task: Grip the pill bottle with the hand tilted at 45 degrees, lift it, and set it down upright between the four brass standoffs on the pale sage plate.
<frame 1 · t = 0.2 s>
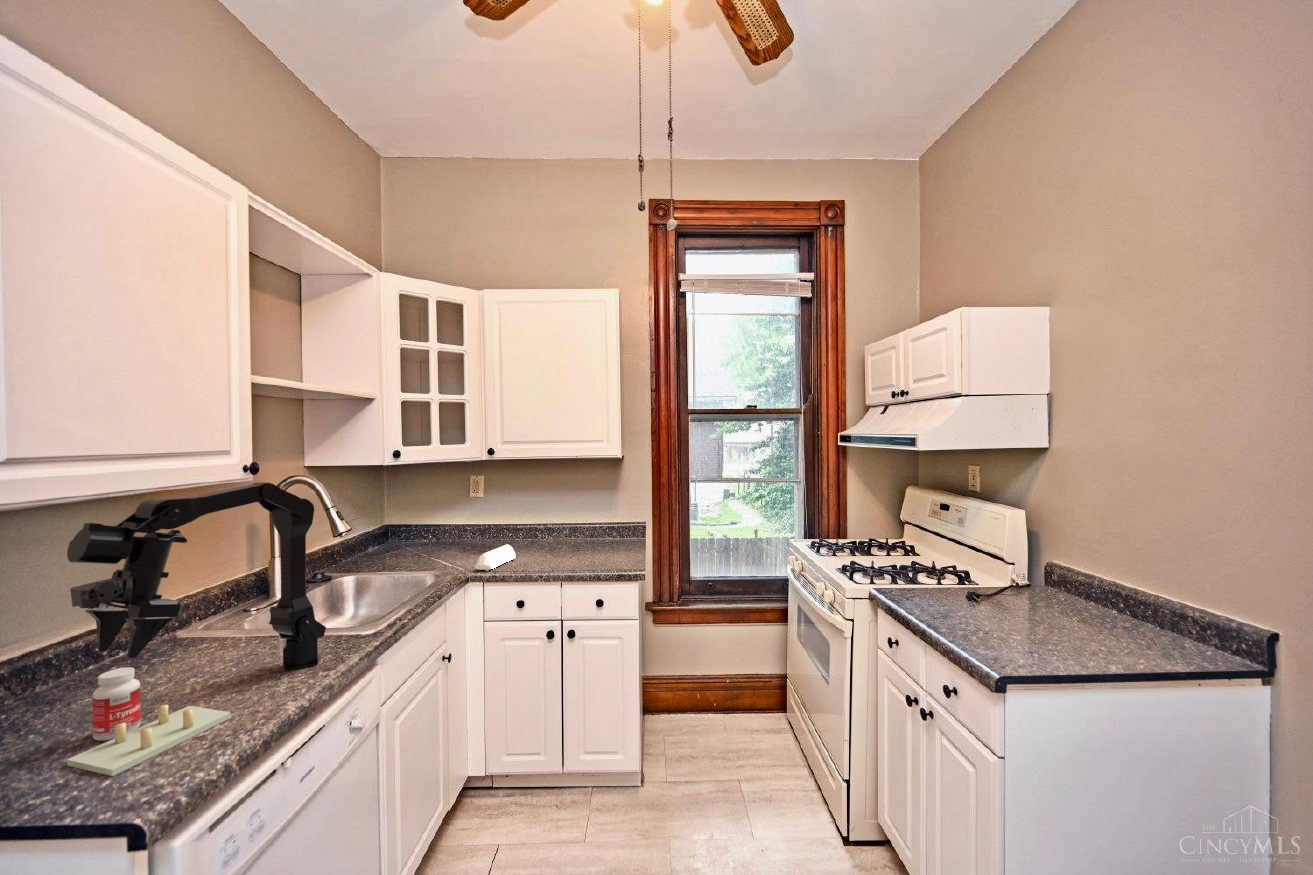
hand: (116, 654, 94), 15 cm above the worktop, tool tilted 15°, fingers open, 9 cm apart
standoff plate: (155, 739, 94), on the worktop
white rounded log: (496, 566, 221), on the worktop
pill bottle: (117, 733, 97), on the worktop
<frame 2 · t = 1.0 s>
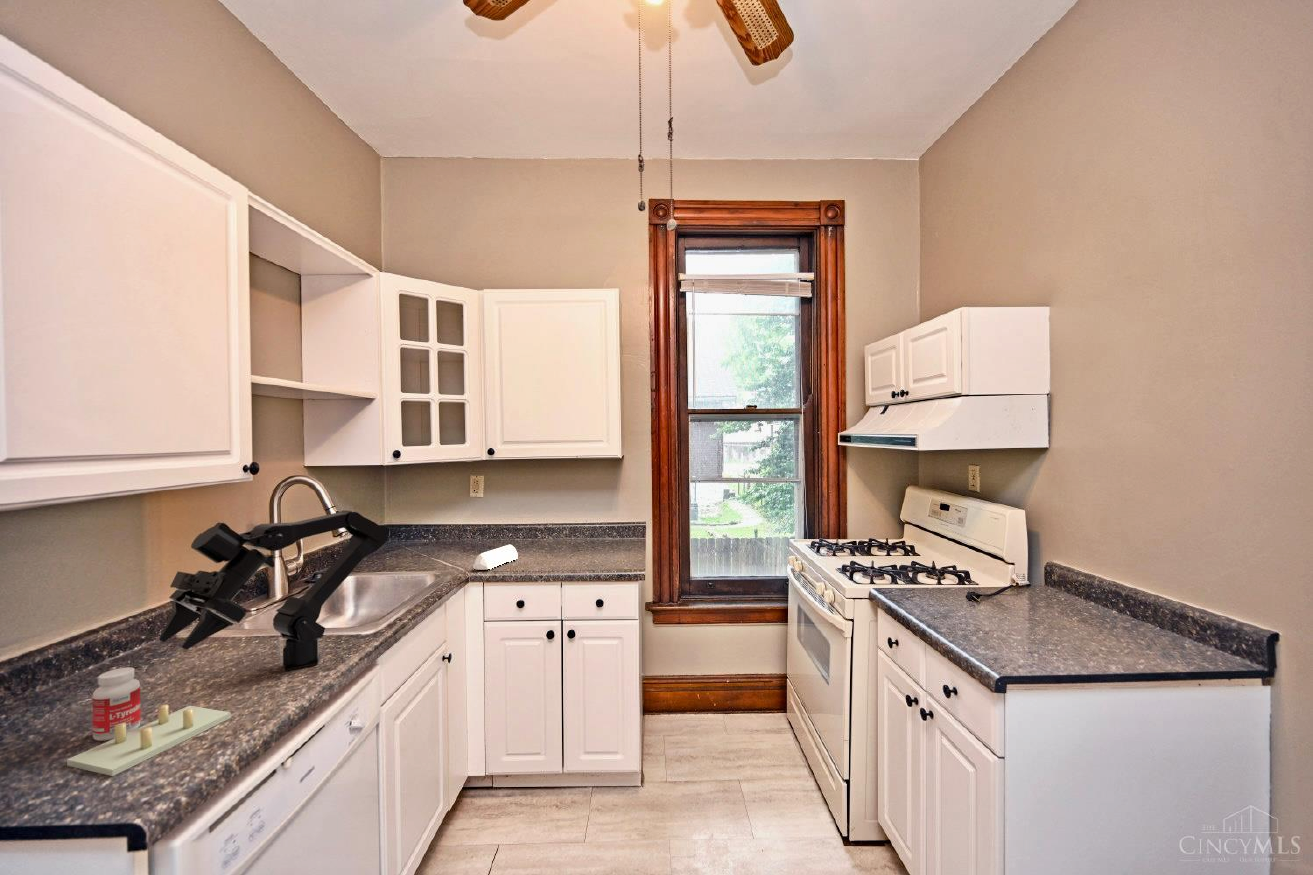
hand: (172, 644, 104), 13 cm above the worktop, tool tilted 45°, fingers open, 9 cm apart
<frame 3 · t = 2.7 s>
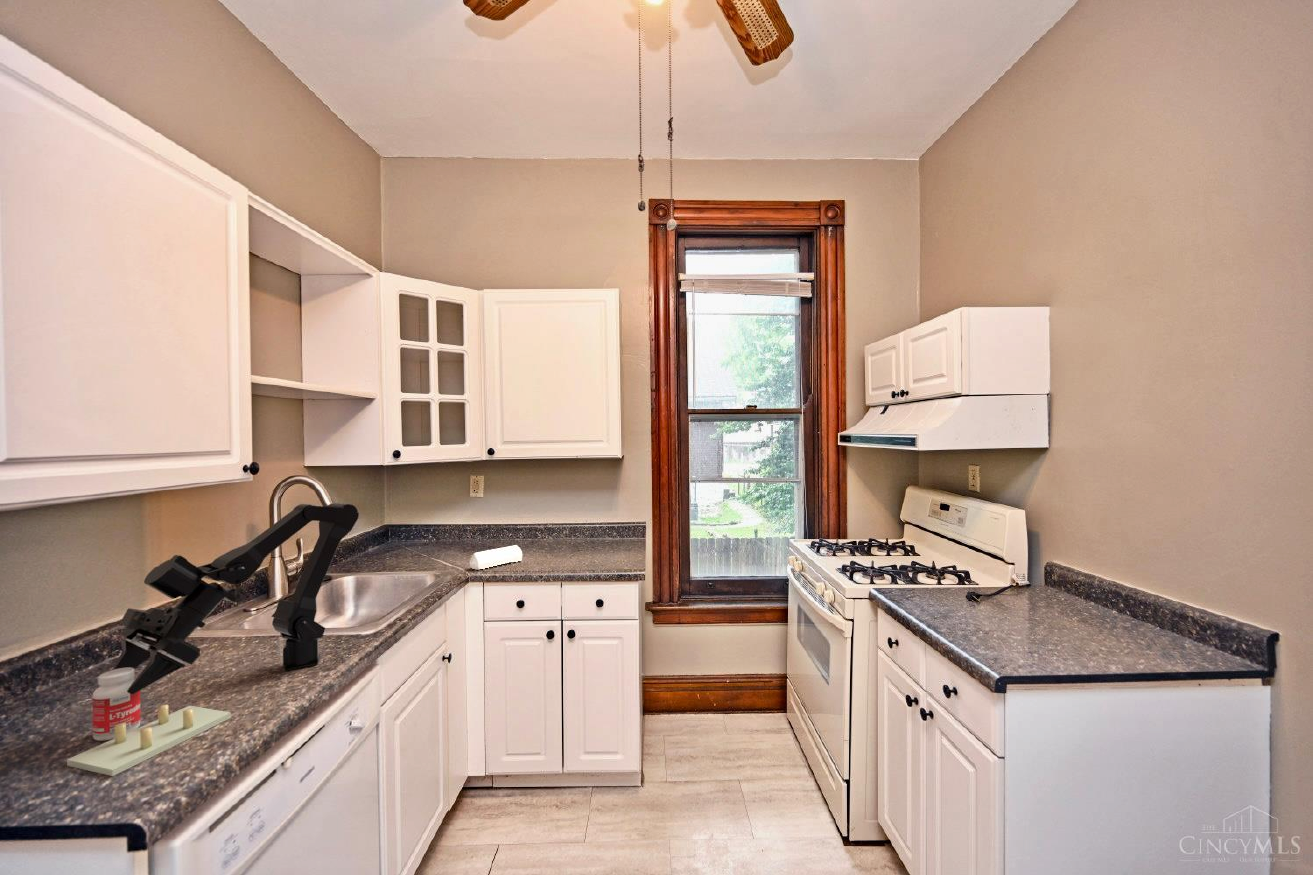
hand: (118, 687, 97), 8 cm above the worktop, tool tilted 45°, fingers open, 9 cm apart
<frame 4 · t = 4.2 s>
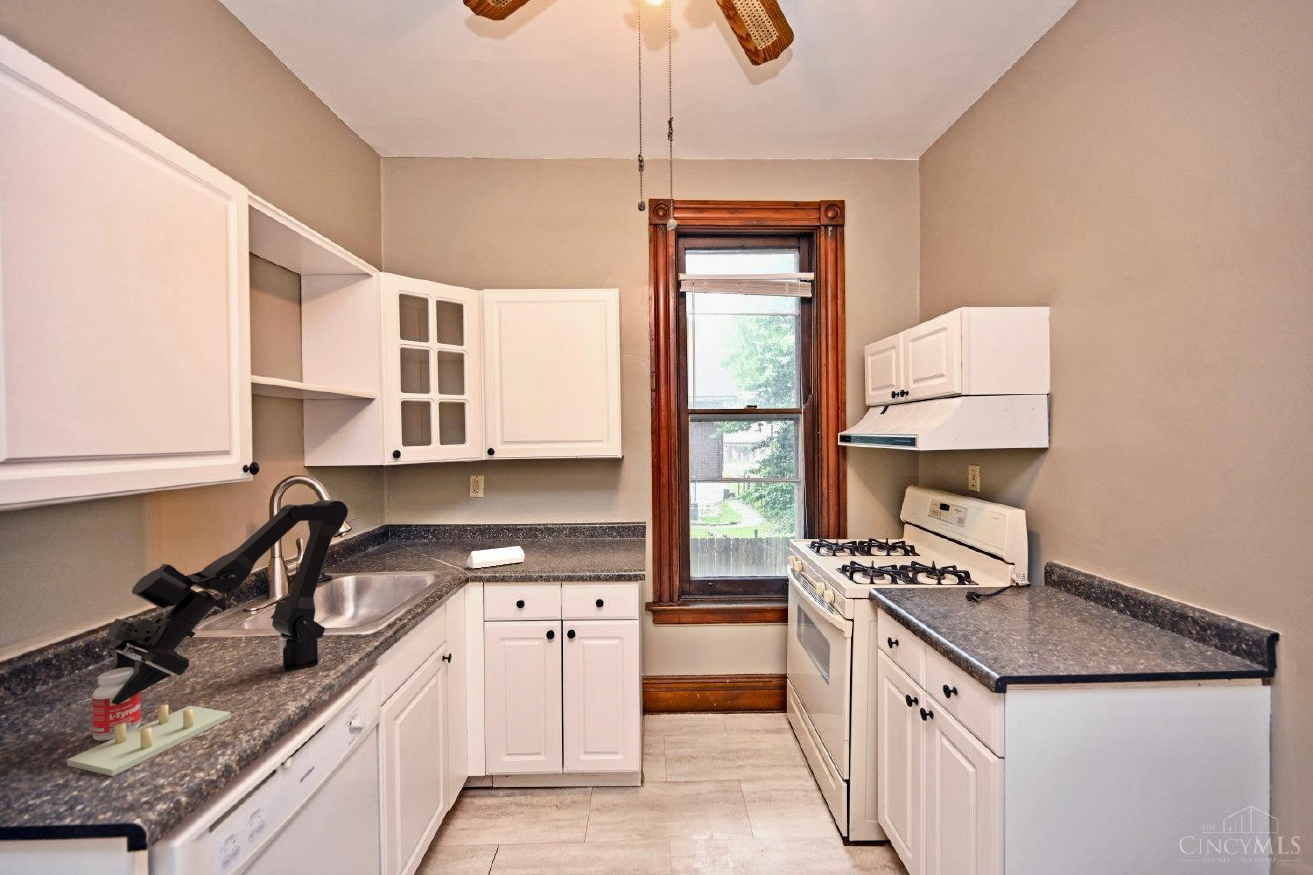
hand: (106, 699, 95), 7 cm above the worktop, tool tilted 45°, fingers closed on pill bottle, 6 cm apart
pill bottle: (117, 733, 97), on the worktop, touching gripper
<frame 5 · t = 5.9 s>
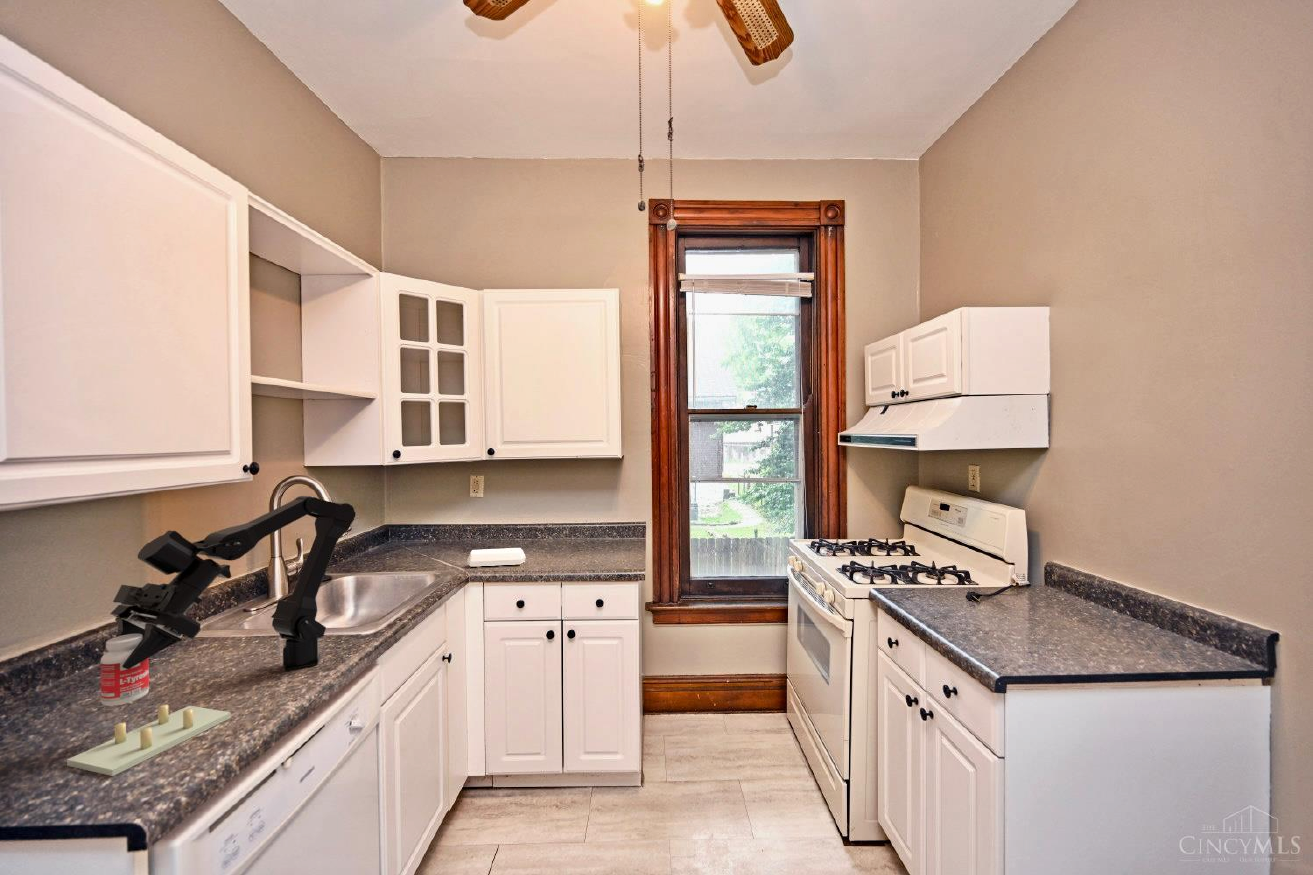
hand: (115, 665, 94), 13 cm above the worktop, tool tilted 45°, fingers closed on pill bottle, 6 cm apart
pill bottle: (125, 699, 96), point 6 cm above the worktop, touching gripper
when the fingers open (9 cm above the worktop, at t = 7.9 s): pill bottle drops 1 cm, resting on standoff plate.
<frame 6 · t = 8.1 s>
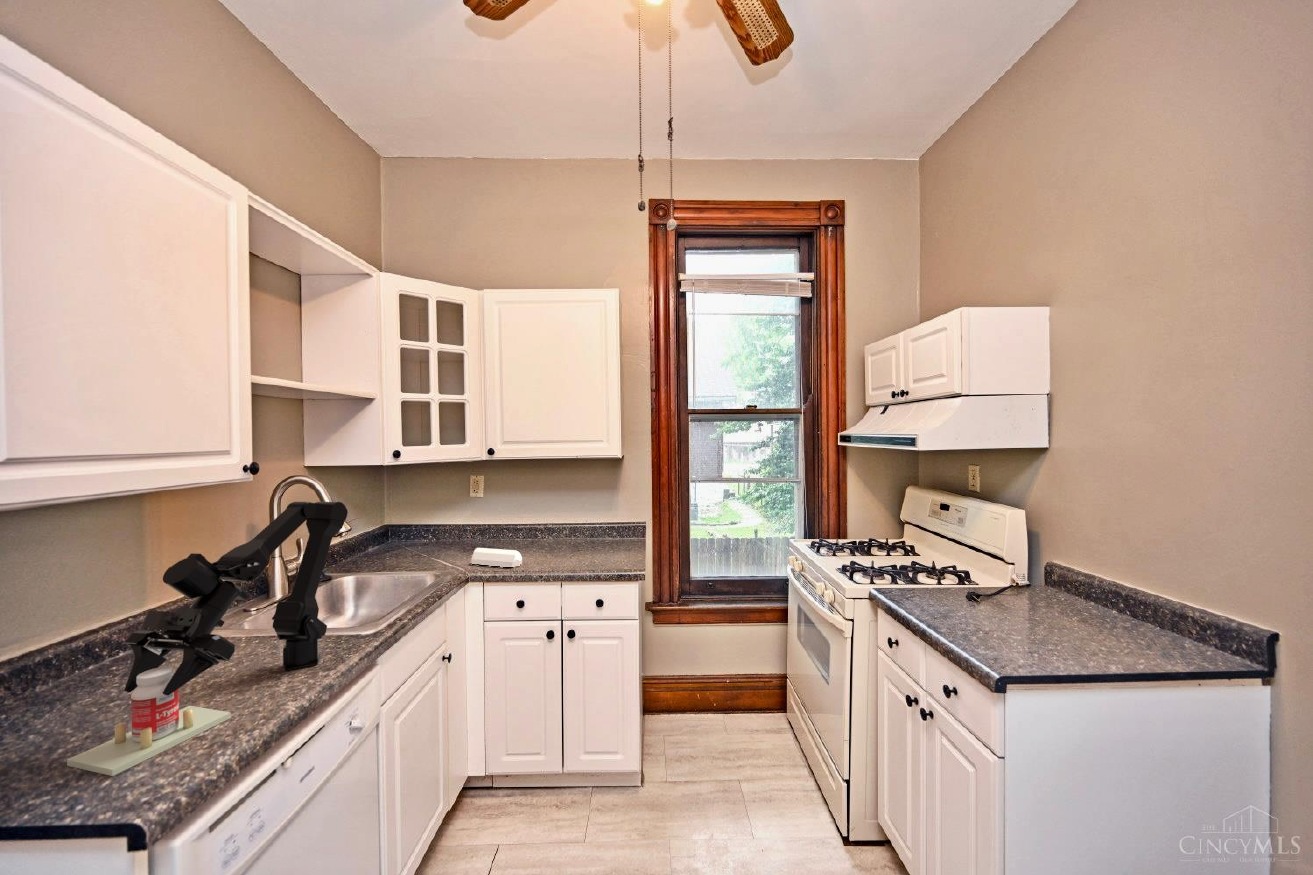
hand: (145, 693, 93), 9 cm above the worktop, tool tilted 45°, fingers open, 8 cm apart
pill bottle: (156, 734, 94), point 1 cm above the worktop, touching standoff plate
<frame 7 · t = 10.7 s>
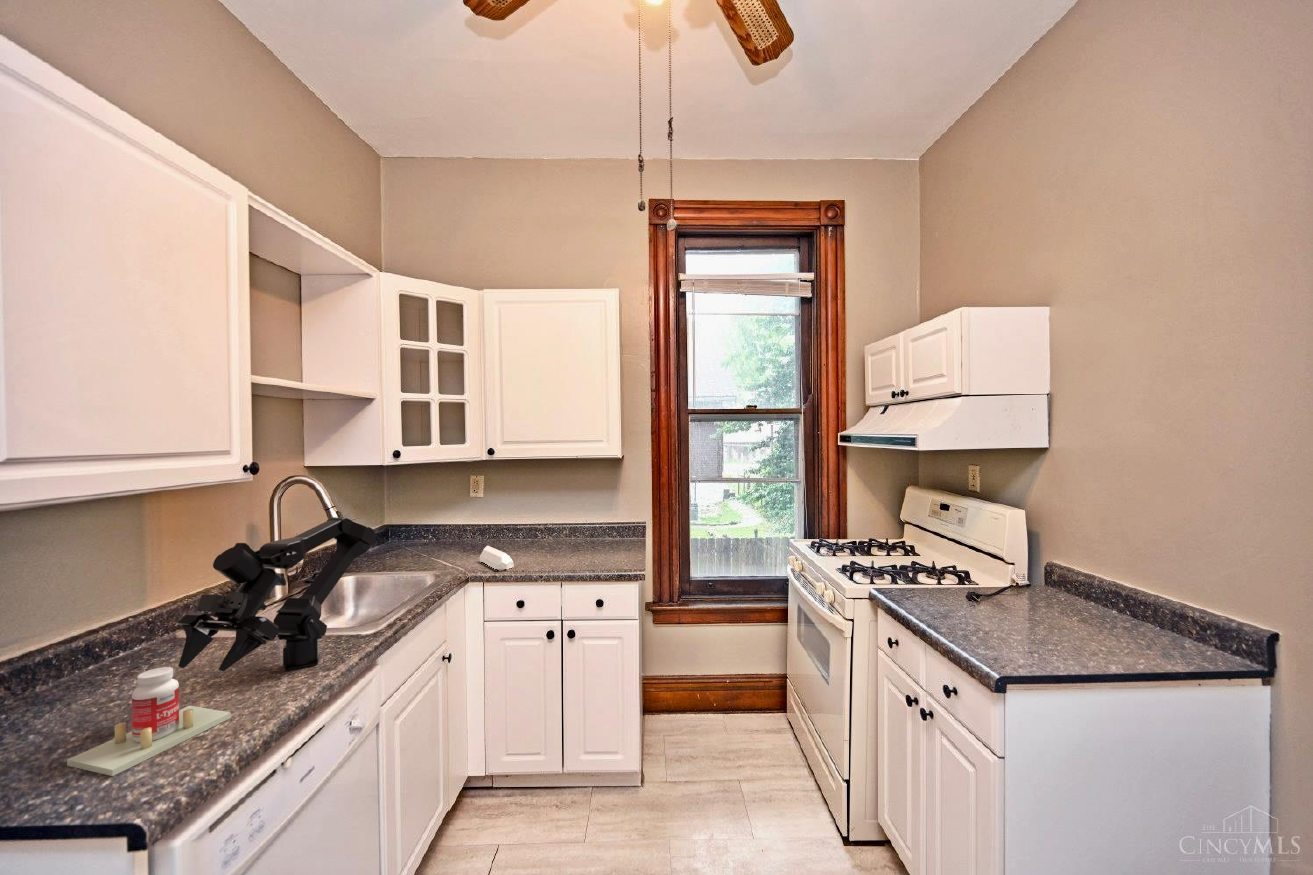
hand: (200, 668, 102), 9 cm above the worktop, tool tilted 45°, fingers open, 9 cm apart
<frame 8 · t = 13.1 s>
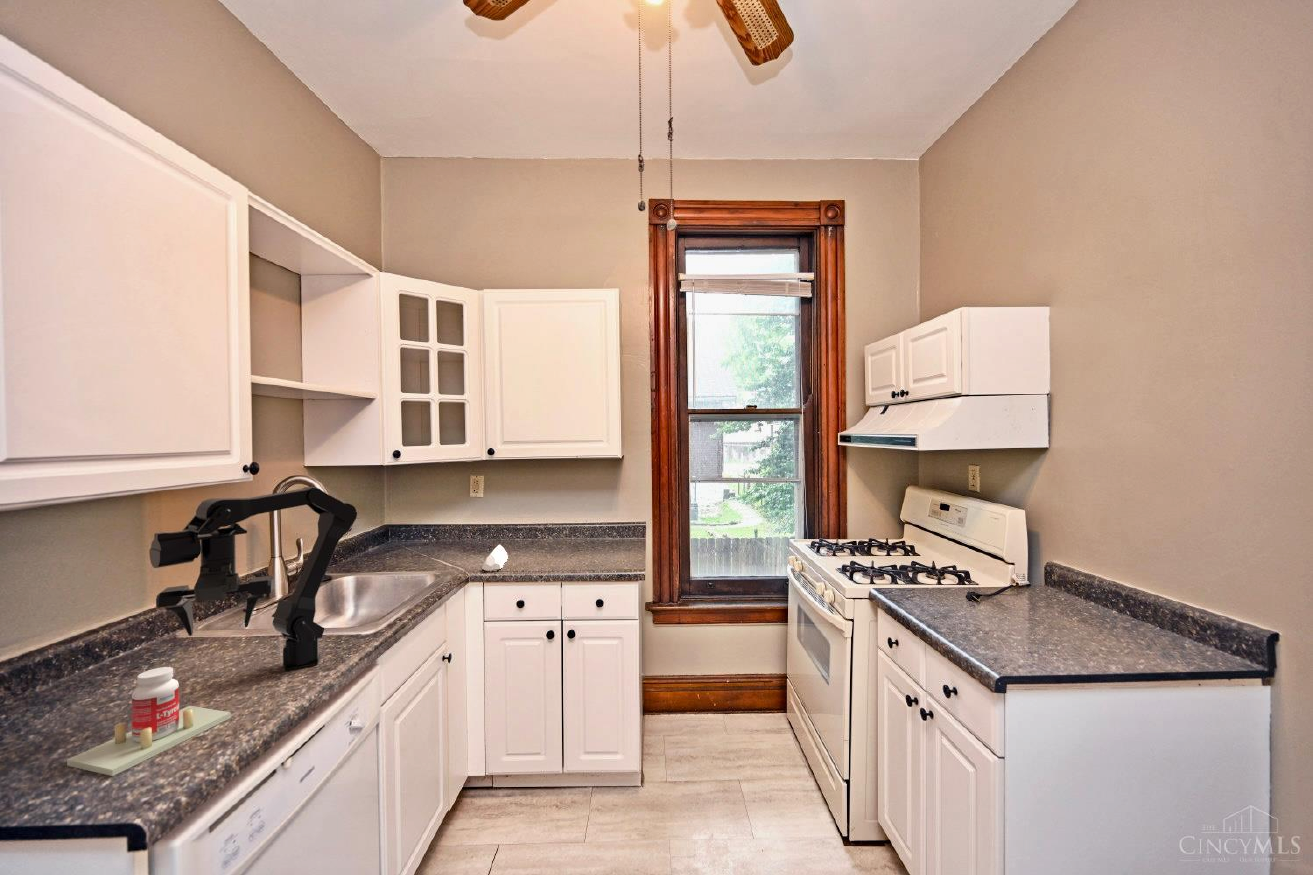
hand: (219, 630, 112), 13 cm above the worktop, tool pointing down, fingers open, 9 cm apart
at the end: pill bottle 0.2 cm from the standoff plate (horizontally); pill bottle point 0.8 cm above the worktop; pill bottle tilted 0° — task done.
